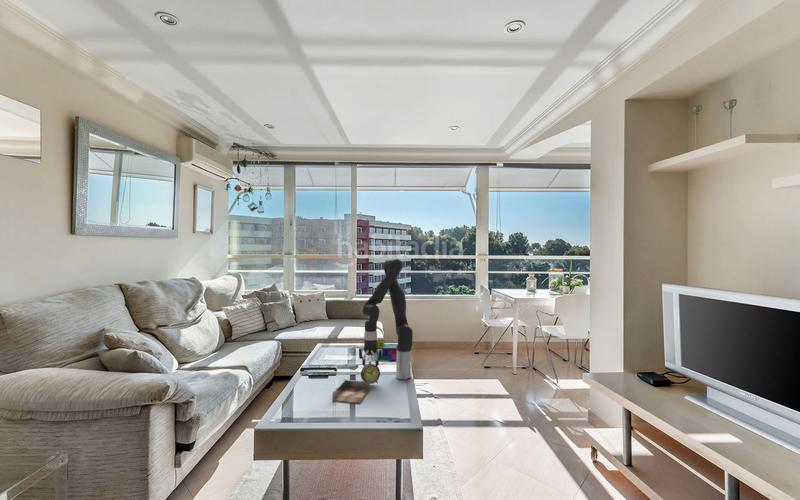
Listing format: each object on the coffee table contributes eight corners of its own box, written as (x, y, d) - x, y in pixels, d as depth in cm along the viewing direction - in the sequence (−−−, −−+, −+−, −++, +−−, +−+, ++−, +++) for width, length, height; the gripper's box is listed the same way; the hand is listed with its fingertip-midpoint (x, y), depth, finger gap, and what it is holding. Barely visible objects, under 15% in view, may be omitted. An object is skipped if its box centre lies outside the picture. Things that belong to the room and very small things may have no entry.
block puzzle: (374, 361, 274) (374, 341, 274) (375, 354, 291) (376, 335, 291) (408, 361, 274) (409, 342, 274) (408, 355, 291) (408, 336, 291)
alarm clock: (363, 387, 222) (363, 359, 221) (359, 384, 226) (359, 357, 226) (380, 384, 227) (380, 357, 227) (376, 381, 232) (376, 354, 231)
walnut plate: (369, 390, 218) (369, 388, 218) (359, 403, 200) (359, 402, 200) (344, 388, 221) (344, 386, 221) (332, 401, 203) (332, 399, 203)
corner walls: (369, 389, 218) (369, 381, 218) (359, 402, 200) (359, 394, 200) (344, 386, 221) (344, 379, 221) (332, 399, 203) (332, 391, 202)
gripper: (383, 337, 229) (383, 365, 229) (360, 336, 231) (360, 363, 231) (380, 340, 221) (380, 369, 221) (357, 339, 224) (356, 367, 224)
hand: (370, 366), depth 226 cm, fingers closed on alarm clock, 7 cm apart
